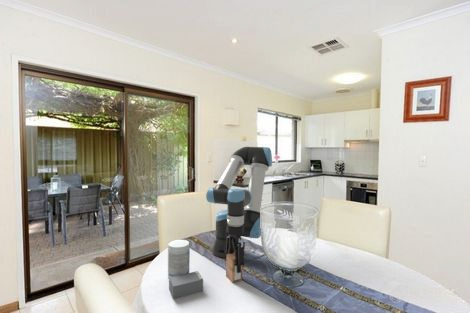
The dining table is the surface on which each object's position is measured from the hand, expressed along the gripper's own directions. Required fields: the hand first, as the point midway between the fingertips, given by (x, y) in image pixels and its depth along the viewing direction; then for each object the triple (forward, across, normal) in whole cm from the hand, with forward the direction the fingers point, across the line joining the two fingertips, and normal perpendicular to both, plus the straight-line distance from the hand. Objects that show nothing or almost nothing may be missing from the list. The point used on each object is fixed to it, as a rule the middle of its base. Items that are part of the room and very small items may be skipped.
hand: (233, 275), depth 106 cm
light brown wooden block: (+1, 0, 0) cm, 1 cm away
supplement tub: (+2, -13, -22) cm, 25 cm away
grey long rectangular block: (+1, 0, -22) cm, 22 cm away
